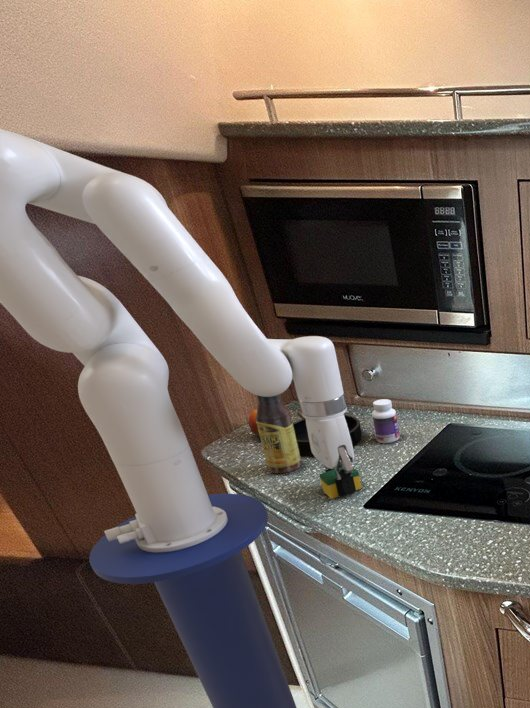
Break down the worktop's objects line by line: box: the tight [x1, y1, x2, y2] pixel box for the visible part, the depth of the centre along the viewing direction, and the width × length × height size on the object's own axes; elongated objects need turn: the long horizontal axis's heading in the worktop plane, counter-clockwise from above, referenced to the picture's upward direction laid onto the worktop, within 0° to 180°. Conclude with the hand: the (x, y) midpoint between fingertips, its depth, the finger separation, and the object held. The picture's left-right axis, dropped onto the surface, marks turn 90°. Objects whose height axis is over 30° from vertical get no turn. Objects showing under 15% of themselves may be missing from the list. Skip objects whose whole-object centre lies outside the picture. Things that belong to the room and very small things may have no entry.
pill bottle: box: [371, 398, 401, 444], centre depth 120 cm, size 5×5×10 cm
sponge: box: [318, 466, 363, 500], centre depth 100 cm, size 6×4×4 cm, turn 136°
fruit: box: [248, 409, 260, 438], centre depth 120 cm, size 8×8×8 cm
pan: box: [293, 410, 363, 458], centre depth 121 cm, size 16×22×4 cm
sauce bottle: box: [256, 394, 302, 474], centre depth 103 cm, size 6×6×20 cm
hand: (342, 488), depth 100 cm, fingers closed on sponge, 4 cm apart
